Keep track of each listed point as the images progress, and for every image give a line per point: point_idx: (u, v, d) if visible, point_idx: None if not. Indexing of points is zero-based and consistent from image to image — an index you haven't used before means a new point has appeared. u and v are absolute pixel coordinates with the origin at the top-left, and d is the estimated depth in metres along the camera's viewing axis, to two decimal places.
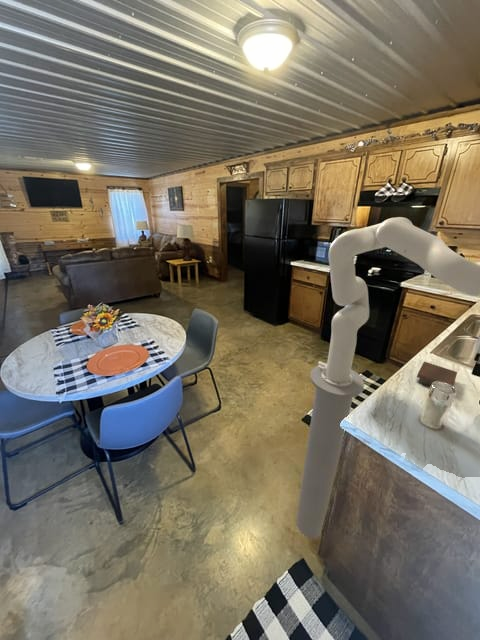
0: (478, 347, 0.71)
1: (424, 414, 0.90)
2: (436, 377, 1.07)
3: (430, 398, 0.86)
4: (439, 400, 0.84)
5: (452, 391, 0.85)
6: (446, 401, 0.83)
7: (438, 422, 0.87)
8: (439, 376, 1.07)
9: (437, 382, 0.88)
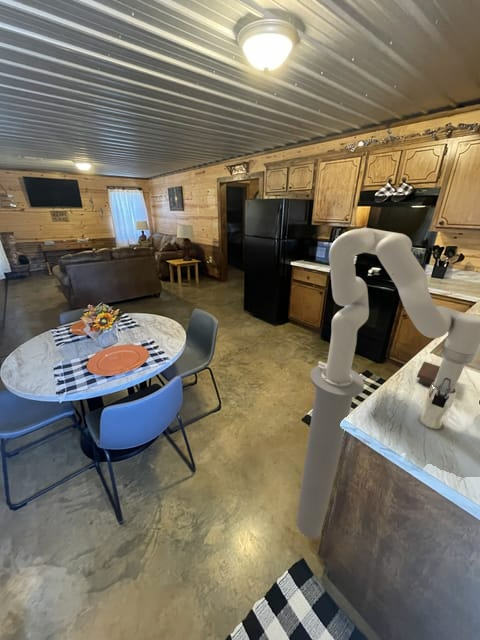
0: (436, 381, 0.81)
1: (424, 414, 0.90)
2: None
3: (430, 398, 0.86)
4: None
5: (452, 391, 0.85)
6: (446, 401, 0.83)
7: (438, 422, 0.87)
8: None
9: None
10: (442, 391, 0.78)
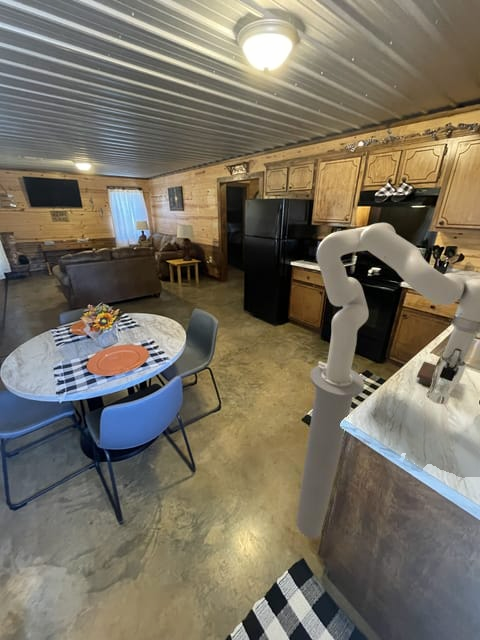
0: (445, 352, 0.77)
1: (431, 389, 0.86)
2: None
3: (438, 372, 0.82)
4: None
5: (461, 364, 0.81)
6: (455, 374, 0.79)
7: (445, 397, 0.84)
8: None
9: None
10: (451, 362, 0.74)
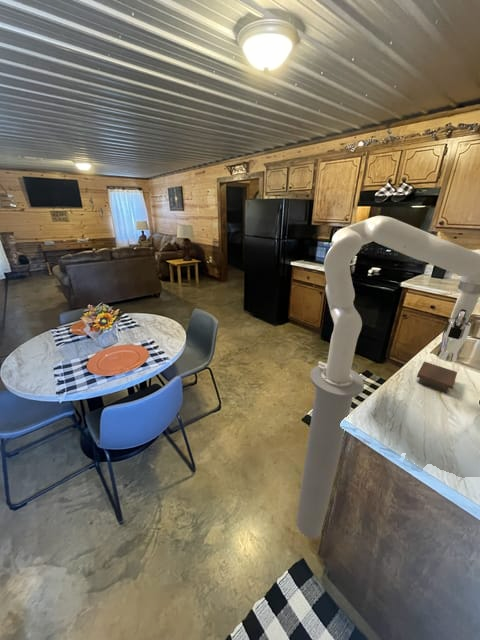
0: (452, 313, 0.90)
1: (441, 350, 0.99)
2: (436, 377, 1.07)
3: (447, 332, 0.95)
4: None
5: (467, 326, 0.94)
6: (461, 333, 0.92)
7: (454, 355, 0.96)
8: (439, 376, 1.07)
9: (453, 319, 0.97)
10: (458, 320, 0.87)
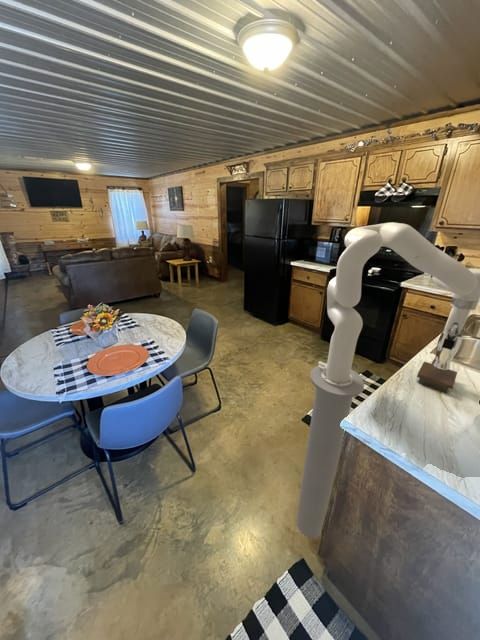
0: (446, 326, 0.99)
1: (435, 359, 1.07)
2: (436, 377, 1.07)
3: (441, 343, 1.03)
4: None
5: (459, 337, 1.02)
6: (454, 344, 1.00)
7: (447, 364, 1.05)
8: (439, 376, 1.07)
9: (446, 331, 1.05)
10: (451, 333, 0.96)
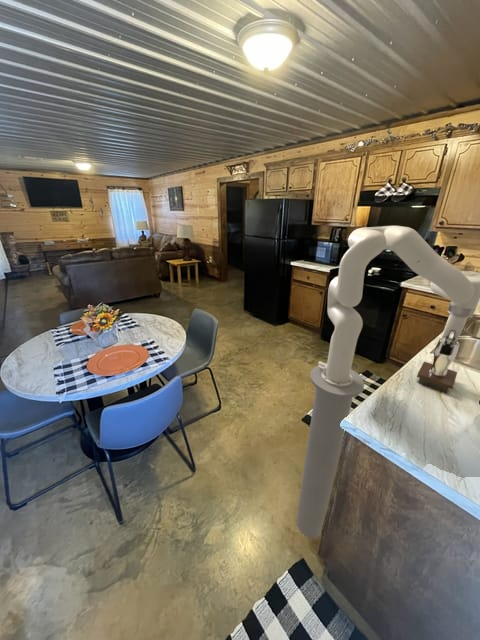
0: (443, 333, 1.00)
1: (432, 366, 1.09)
2: (436, 377, 1.07)
3: (438, 351, 1.05)
4: None
5: (456, 345, 1.04)
6: (451, 352, 1.02)
7: (444, 371, 1.06)
8: None
9: (443, 338, 1.06)
10: (449, 338, 0.96)
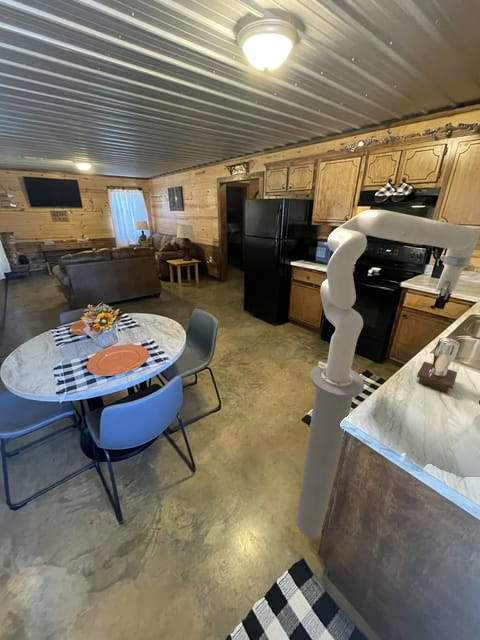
0: (438, 286, 0.98)
1: (432, 366, 1.09)
2: (436, 377, 1.07)
3: (438, 351, 1.05)
4: (445, 352, 1.02)
5: (456, 345, 1.04)
6: (451, 352, 1.02)
7: (444, 371, 1.06)
8: None
9: (443, 338, 1.06)
10: (443, 289, 0.94)
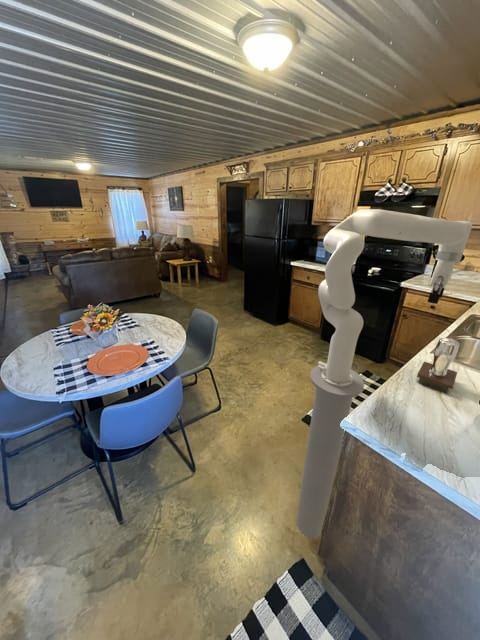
0: (431, 280, 0.99)
1: (432, 366, 1.09)
2: (436, 377, 1.07)
3: (438, 351, 1.05)
4: (445, 352, 1.02)
5: (456, 345, 1.04)
6: (451, 352, 1.02)
7: (444, 371, 1.06)
8: None
9: (443, 338, 1.06)
10: (436, 284, 0.95)
